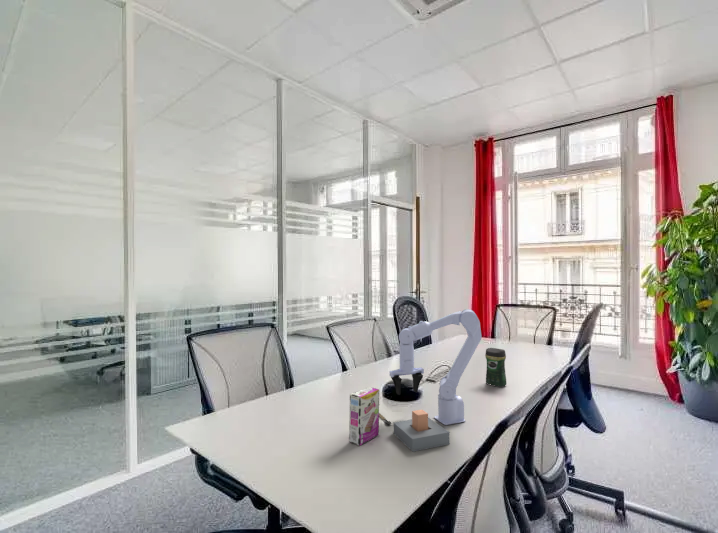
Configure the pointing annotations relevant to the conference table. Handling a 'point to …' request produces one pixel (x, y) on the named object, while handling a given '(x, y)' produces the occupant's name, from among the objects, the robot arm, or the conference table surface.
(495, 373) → the coffee jar
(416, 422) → the peg
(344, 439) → the conference table surface
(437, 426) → the socket block
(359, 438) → the candy bar box
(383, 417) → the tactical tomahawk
